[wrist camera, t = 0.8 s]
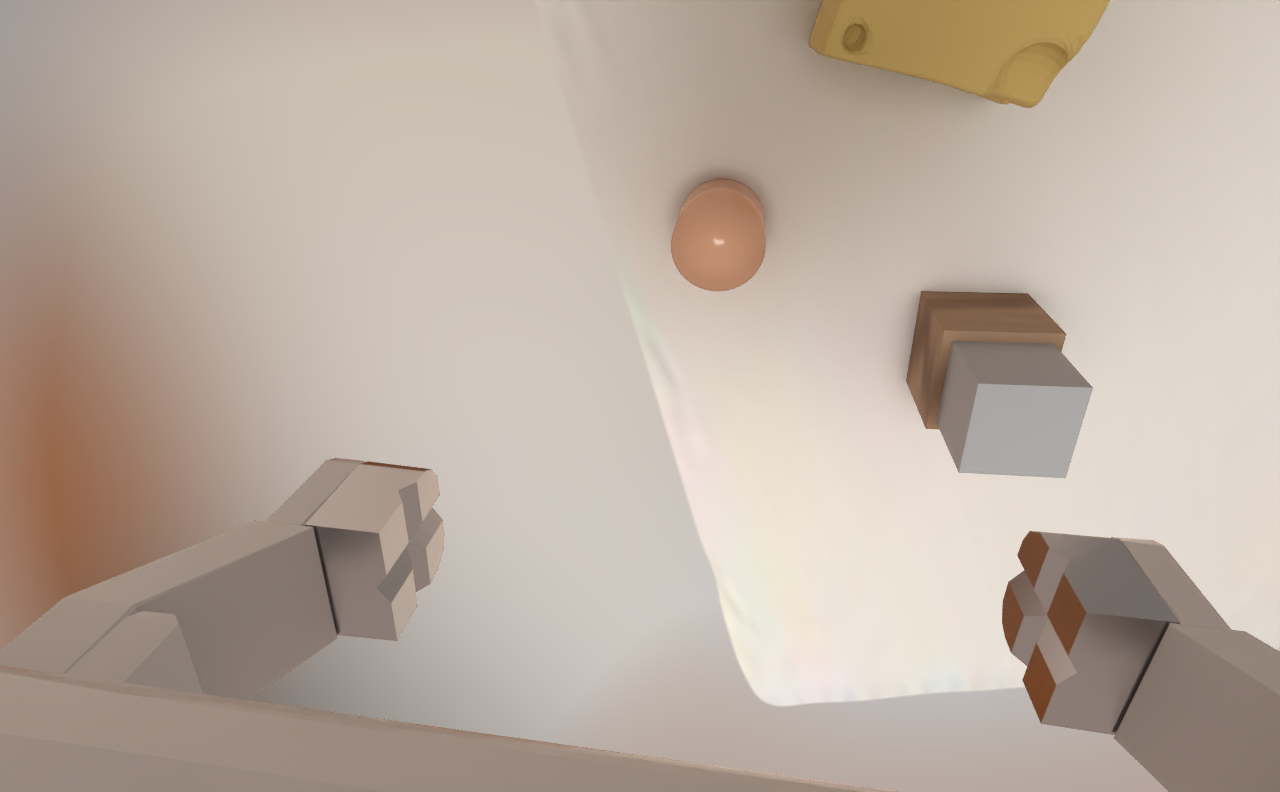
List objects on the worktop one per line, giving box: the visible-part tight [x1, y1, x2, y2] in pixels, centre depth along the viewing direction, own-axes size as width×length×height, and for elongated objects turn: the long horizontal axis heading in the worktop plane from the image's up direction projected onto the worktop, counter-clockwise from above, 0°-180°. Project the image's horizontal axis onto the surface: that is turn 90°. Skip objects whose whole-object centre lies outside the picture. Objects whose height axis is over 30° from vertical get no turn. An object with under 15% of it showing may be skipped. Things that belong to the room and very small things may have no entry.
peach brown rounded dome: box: [671, 179, 765, 291], centre depth 41 cm, size 5×5×5 cm
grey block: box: [937, 341, 1093, 478], centre depth 37 cm, size 5×5×5 cm
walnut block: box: [906, 291, 1066, 429], centre depth 42 cm, size 6×6×6 cm
